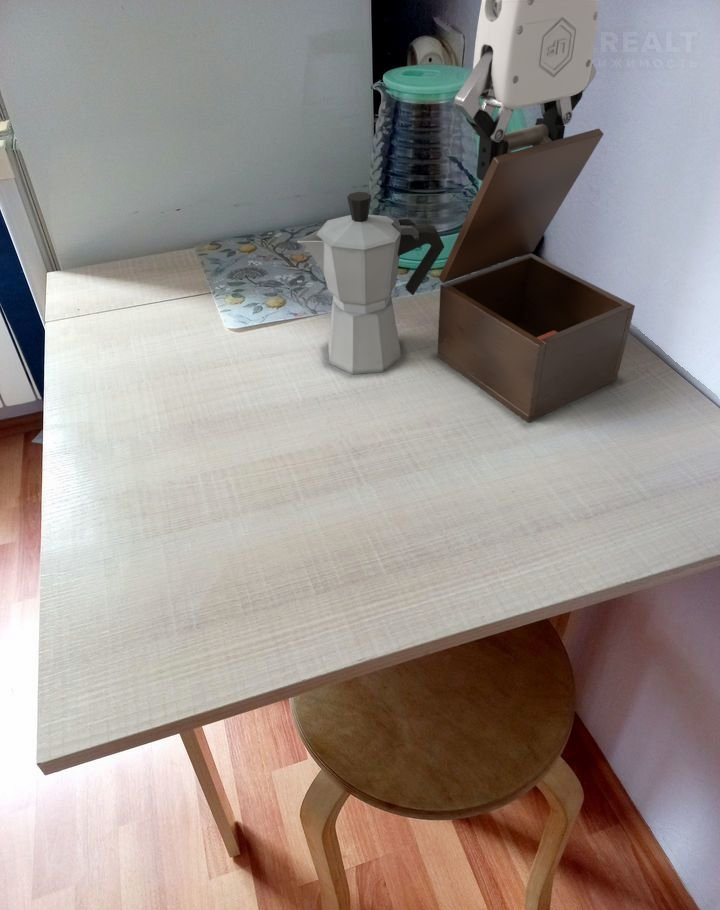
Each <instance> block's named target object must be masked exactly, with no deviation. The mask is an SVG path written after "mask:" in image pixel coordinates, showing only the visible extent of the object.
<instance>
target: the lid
mask: <svg viewBox="0 0 720 910" xmlns="http://www.w3.org/2000/svg"><path fill="white" fill-rule="evenodd" d="M603 136H604V132H603V131H602V130H601V129H600V128H594V129H592V130H588V131H584V132H580V133H576V134H573V135H569V136H566V137H564V138H562V139H558V140H555V141H552V140H551V139H550V138H549V130H548V128H547V126H546V125H545V124H540V125H536V126H535V125H533V126H528V127H525V128H521V129H517V130H514V131H509V132H505V135H504V138H503V140H506V141H508V153H507V154H504V155H500V156H496V157H494V158H493V160H492V162H491V164H490V167H489V169H488V171H487V173H486V175H485V178H484V180H483V181H481V184H480V187H479V188H478V191H477V193H476V195H475V197H474V200H473V201H472V204H471V207H470V208H469V211H468V212H467V215H466V217H465V219H464V222H463V224H462V226H461V228H460V230H459V232H458V235H457V237H456V239H455V241H454V244H453V246H452V248H451V250H450V252H449V255H448V257H447V258H446V261H445V263H444V265H443V268H442V270H441V272H440V274H439V276H438V279H439V281H440V282H441V284H445V283H448V282H451V281H454V280H456V279H459V278H462V277H465V276H468V275H471V274H473V273H476V272H479V271H482V270H485V269H488V268H490V267H493V266H496V265H499V264H502V263H505V262H507V261H510V260H513V259H516V258H519V257H522V256H524V255H527V254H530V253H533V252H534V251H535V249H536V248H537V246H538V244H539V242H540V241H541V240H542V237H543V236H544V234H545V233H546V231H547V229H548V228H549V226H550V225H551V223H552V221H553V220H554V218H555V216H556V214H557V213H558V211H559V209H560V208H561V206H562V204H563V202H564V201H565V199H566V197H567V195H568V194H569V193H570V191H571V189H572V188H573V186H574V184H575V183H576V181H577V179H578V178H579V176H580V175H581V173H582V171H583V170H584V168H585V167H586V164H587V163H588V162H589V159H590V158H591V156H592V155H593V153H594V151H595V149H596V148H597V146H598V144H599V143H600V141H601V139H602V138H603ZM539 143H540V145H536V144H539ZM533 145H536V146H533Z"/></svg>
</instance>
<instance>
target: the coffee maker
mask: <svg viewBox="0 0 720 910" xmlns="http://www.w3.org/2000/svg"><path fill="white" fill-rule="evenodd" d="M346 198H347V203H348V208H349V212H350V214H349V215H344V216H340V217H336V218H331V219H328V220H326V222H325V223H324V224H323V225H322V226H321V228H320V229H318V230H317V231H315V232H312V233H310V234H308V235H306V236H304V237H301V238H299V239H297V242H296V243H298V244H300V245H304V247H305V249H306V250H307V251H308V252H309V254H310V256H311V257H312V258H313V260H314V261H315V262H316V264H317V265H318V267H319V269H320V270H321V271H322V273H323V276H324V279H325V280H324V281H325V284H326V287H327V290H328V292H330V293H331V295H332V296H333V297H332V301H331V312H330V321H329V322H330V323H329V331H328V343H327V352H328V353H327V354H328V362H329V365H331V366H332V367H336V368H337V369H340V370H342V371H344V372H347V373H349V374H351V375H360V374H361V375H362V374H371V373H383V372H385V371H386V370H388V369H389V368H390V367H392V366H393V365H395V364H396V363H398V361H400V360H402V352H401V346H400V345H401V344H400V340H399V334H398V328H397V323H396V315H395V310H394V303H393V299H392V292H393V290H394V288H395V287H396V285H397V279H398V271H399V265H400V259H401V258H400V256H403V255H405V254H406V253H409V252H412V251H414V250H416V249H418V248H420V247H422V246H424V245H430V247H429V249H428V250H427V252H426V253H425V254H424V256H423V258H422V259H421V261H420V262H419V265H417V266H416V269H415V270H414V272H413V273H412V275H411V276H410V278H409V279H408V281H407V283H406V284H405V289H406V291H407V292H408V293H410V294H411V295H412V296H414V295H415V293H416V292H417V290H418V289H419V287H420V285H421V284H422V282H423V281H424V280H425V278H426V276H427V275H428V274H429V272H430V270H431V269H432V267H433V265H434V264H435V262H436V261H437V259H438V258H439V257H440V254H441V253H442V252H443V250H444V249H445V245H444V244H445V243H444V242H443V241H442V238H441V237H440V234H439V232H438V230H437V228H436V227H435V225H432V224H428V223H422V224H416V222H415V221H414V220H412V219H411V218H410V217H397V218H396V219H395V220H393V218H390V217H389V216H387V215H377V214H370V206H371V200H372V195H371V194H370V193H369V192H366V191H365V192H364V191H355V192H351V193H349V194H348V195H347V197H346Z"/></svg>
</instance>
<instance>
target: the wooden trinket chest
mask: <svg viewBox="0 0 720 910" xmlns="http://www.w3.org/2000/svg"><path fill="white" fill-rule="evenodd" d="M635 307H636V306H635V304H632V303H631V302H629V301H627V300H626V299H625V300H624V299H623V298H621V297H619V296H617V295H615V294H613V293H610V292H608V291H607V290H605V289H603V288H601V287H599V286H597V285H595V284H593V283H592V282H589V281H587V280H585V279H584V278H581V277H579V276H577V275H575V274H573V273H571V272H570V271H567V270H565V269H563V268H561V267H559V266H557V265H555V264H554V263H551V262H549V261H548V260H545V259H543V258H541V257H539V256H537V255H536V254H533V253H532V252H530V253H527V254H524V255H522V256H519V257H516V258H513V259H510V260H507V261H505V262H502V263H499V264H496V265H493V266H490V267H487V268H485V269H482V270H479V271H476V272H473V273H470V274H468V275H465V276H462V277H459V278H456V279H453V280H451V281H448V282H445V283H441V284H440V288H439V309H438V328H437V329H438V331H437V355H436V356H437V358H439V359H440V360H441V361H443V362H444V363H446V364H447V365H448V366H450V367H451V368H452V369H454V370H455V371H457V372H458V373H459V374H461V375H462V376H463V377H465V378H466V379H467V380H468V381H470V382H472V384H474V385H476V386H477V387H479V388H480V389H481V390H483V391H484V392H485V393H487V394H488V395H489V396H491V397H492V398H493V399H494V400H496V401H497V402H499V403H500V404H502V405H503V406H504V407H506V408H508V410H510V411H511V412H513V413H514V414H516V415H517V416H518V417H519V418H521V419H522V420H524V421H525V422H526V423H530V422H532V421H534V420H535V419H538V418H540V417H543V416H545V415H546V414H549V413H550V412H553V411H555V410H557V409H559V408H561V407H563V406H565V405H567V404H569V403H571V402H574V401H576V400H578V399H580V398H582V397H584V396H586V395H588V394H591V393H592V392H595V391H597V390H599V389H602V388H603V387H605V386H607V385H609V384H611V383H613V382H615V381H617V380H618V377H619V372H620V368H621V364H622V360H623V356H624V352H625V348H626V345H627V340H628V336H629V331H630V327H631V324H632V320H633V316H634V312H635ZM553 330H555V331H556V332H558V333H556V334H553V335H551V336H549V337H546V338H544V339H541V340H539V339H537V337H539V336H541V335H544V334H546V333H549V332H551V331H553Z"/></svg>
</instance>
